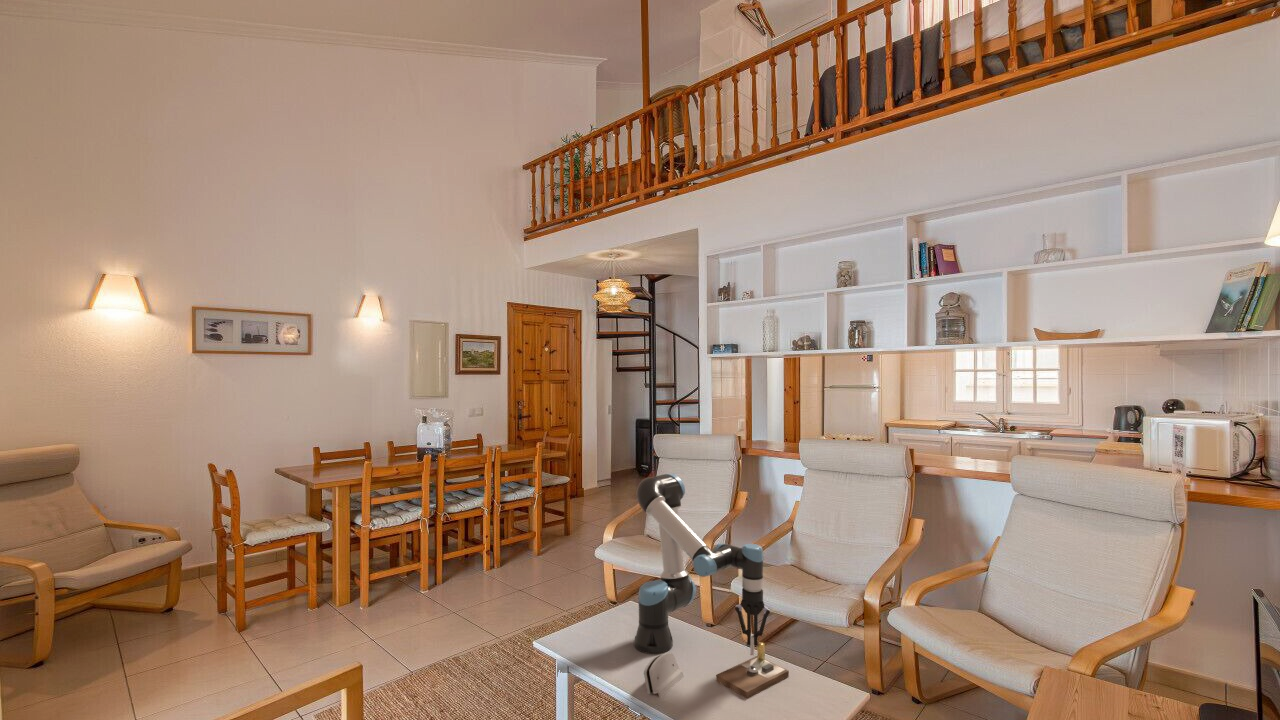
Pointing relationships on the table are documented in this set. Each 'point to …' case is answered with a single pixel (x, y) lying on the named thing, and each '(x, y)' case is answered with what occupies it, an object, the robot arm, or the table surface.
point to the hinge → (662, 674)
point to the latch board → (751, 677)
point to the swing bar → (758, 658)
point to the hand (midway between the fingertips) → (752, 653)
